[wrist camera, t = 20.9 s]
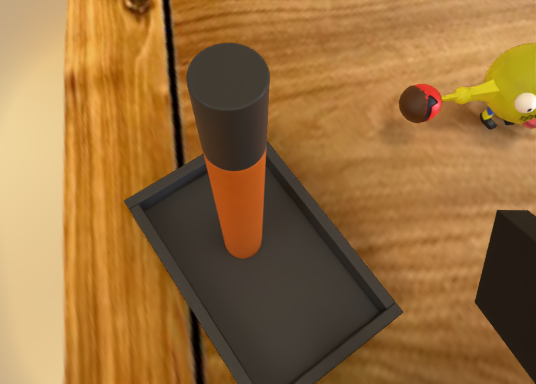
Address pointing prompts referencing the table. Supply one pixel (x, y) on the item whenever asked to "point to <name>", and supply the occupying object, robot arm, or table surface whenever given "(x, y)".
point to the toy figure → (486, 92)
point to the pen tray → (265, 277)
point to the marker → (233, 137)
